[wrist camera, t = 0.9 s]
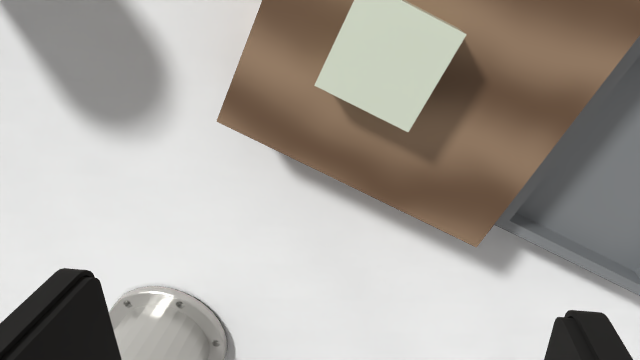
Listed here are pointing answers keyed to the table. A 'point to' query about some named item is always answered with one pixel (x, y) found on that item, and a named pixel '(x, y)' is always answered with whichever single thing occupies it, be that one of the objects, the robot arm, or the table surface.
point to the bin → (591, 185)
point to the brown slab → (434, 101)
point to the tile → (389, 59)
